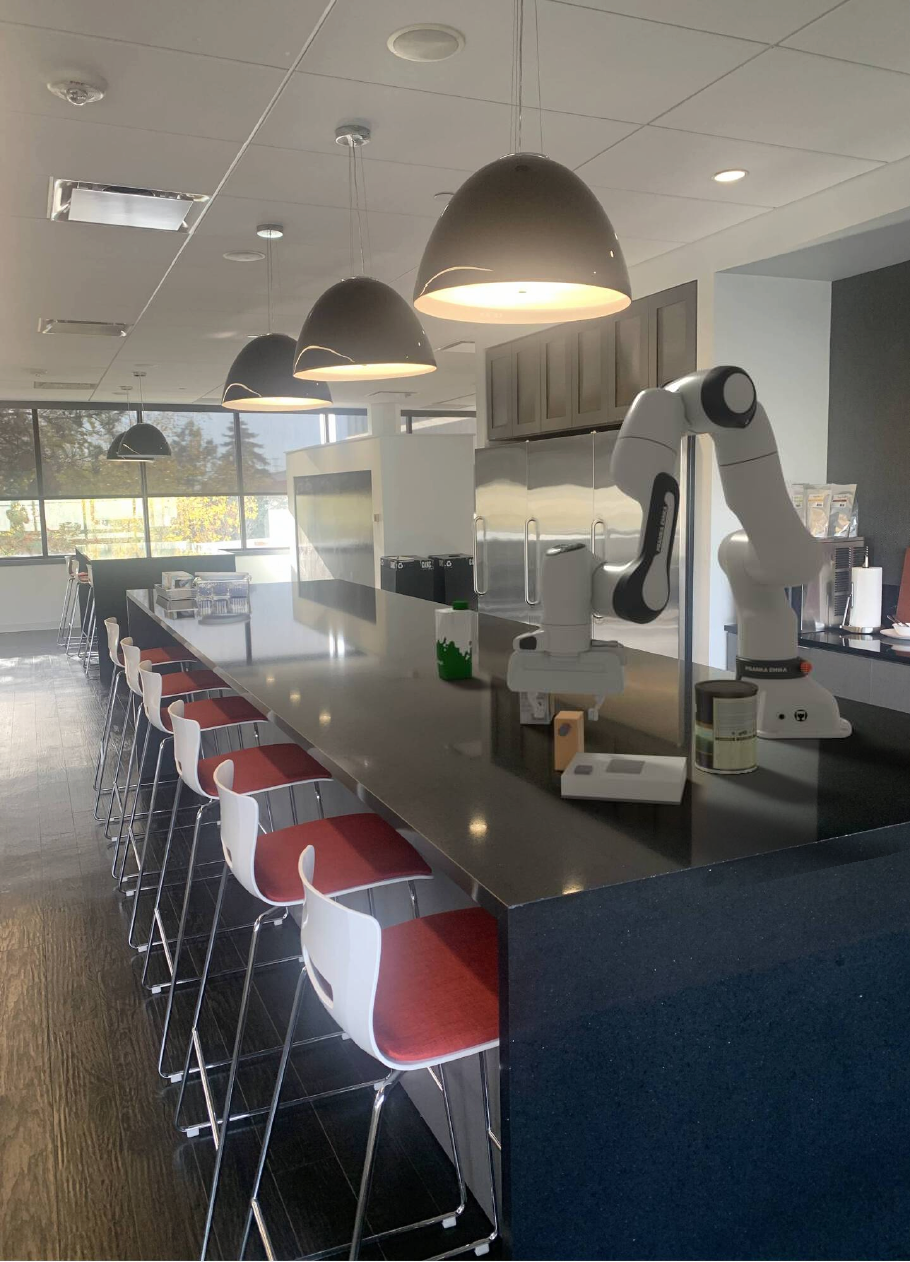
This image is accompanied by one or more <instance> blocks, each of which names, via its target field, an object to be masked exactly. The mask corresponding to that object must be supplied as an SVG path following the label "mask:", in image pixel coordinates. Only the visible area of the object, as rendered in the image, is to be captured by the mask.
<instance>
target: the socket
mask: <svg viewBox="0 0 910 1262" xmlns="http://www.w3.org/2000/svg"><path fill="white" fill-rule="evenodd" d="M686 782H687V757H686V756H685V757H684V756H666V755H665V756H664V755H647V754H646V755H644V754H642V755H641V754H639V755H638V754H623V753H622V754H621V753H620V754H619V753H600V752H599V753H597V752H596V753H595V752H584V753H580V752H577V753H576V754H575V756H574V757H573V759H572V760H571V762H570V763H569V765H568V766H567V768H566V769H565V770H563V773H562V774H561V776H560V783H561V784H560V786H561V787H560V790H561V796H560V797H561V799H574V800H591V801H604V802H605V801H606V802H607V801H608V802H620V803H621V802H624V803H642V804H654V805H655V804H656V805H657V804H658V805H671V806H673V805H674V806H681V803H682V798H683V795H684V789H685V786H686Z"/></svg>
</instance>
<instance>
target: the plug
mask: <svg viewBox="0 0 910 1262" xmlns="http://www.w3.org/2000/svg"><path fill="white" fill-rule="evenodd" d="M553 718H554V719H553V726H554V727H553V728H554V732H553V733H554V736H553V737H554V769H555V771H565V769H566V768H567V766H568V765H569V763H570V762H571V760H572V759H573V757H574V756H575V754H576V753H577V752H580V753H585V741H584V740H585V734H584V732H585V729H584V728H585V727H584V722H585V721H584V711H575V710H560V711H559V712H558V713H557V715H556V716H555V717H553Z"/></svg>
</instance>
